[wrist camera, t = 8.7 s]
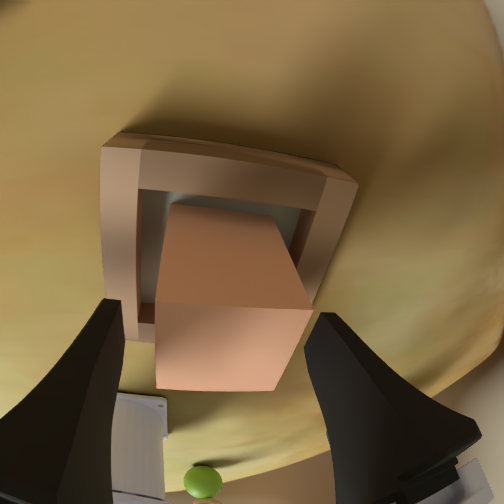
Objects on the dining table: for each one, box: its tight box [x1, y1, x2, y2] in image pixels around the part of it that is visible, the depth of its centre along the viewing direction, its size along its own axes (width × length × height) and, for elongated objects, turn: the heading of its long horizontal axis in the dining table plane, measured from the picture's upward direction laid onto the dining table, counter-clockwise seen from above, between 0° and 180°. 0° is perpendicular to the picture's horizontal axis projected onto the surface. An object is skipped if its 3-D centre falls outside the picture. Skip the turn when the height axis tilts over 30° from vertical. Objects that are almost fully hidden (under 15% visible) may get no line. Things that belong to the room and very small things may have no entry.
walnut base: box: [100, 132, 359, 343], centre depth 14 cm, size 10×10×2 cm
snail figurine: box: [184, 466, 222, 504], centre depth 30 cm, size 5×6×12 cm
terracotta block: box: [155, 204, 313, 391], centre depth 12 cm, size 4×4×6 cm
